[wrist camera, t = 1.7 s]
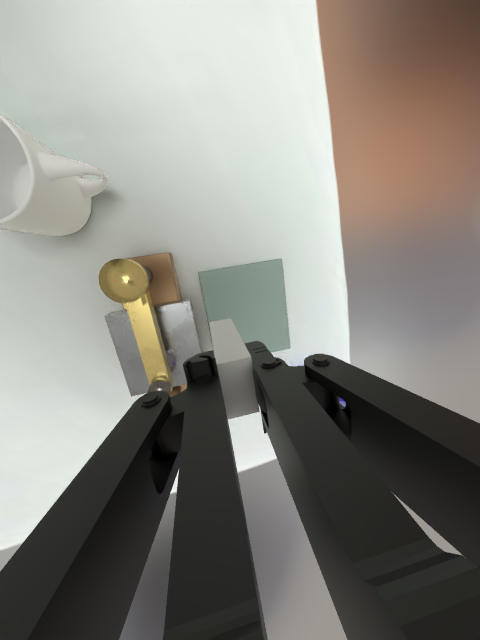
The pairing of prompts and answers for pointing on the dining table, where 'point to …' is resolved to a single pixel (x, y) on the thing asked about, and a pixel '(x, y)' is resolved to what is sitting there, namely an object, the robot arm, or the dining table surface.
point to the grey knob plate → (175, 335)
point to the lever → (139, 317)
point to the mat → (249, 301)
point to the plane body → (162, 285)
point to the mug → (42, 186)
